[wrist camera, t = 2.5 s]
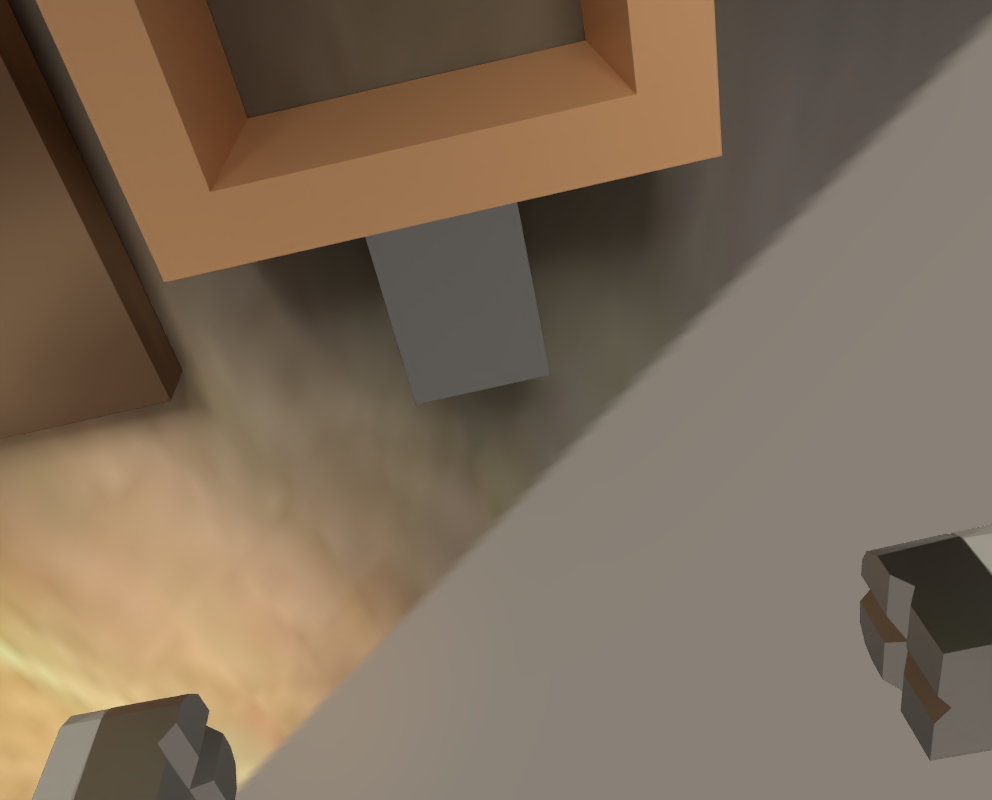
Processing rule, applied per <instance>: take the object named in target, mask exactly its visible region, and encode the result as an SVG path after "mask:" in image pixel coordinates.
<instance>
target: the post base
mask: <svg viewBox="0 0 992 800" xmlns="http://www.w3.org/2000/svg"><path fill="white" fill-rule="evenodd" d="M181 373H182V369H181V367H180V365H179V363H178V360H177V358H176V356H175V354H174V352H173V350H172V348H171V346H170V344H169V341H168V339H167V337H166V335H165V333H164V331H163V329H162V327H161V324H160V322H159V320H158V318H157V316H156V314H155V312H154V310H153V308H152V305H151V303H150V301H149V299H148V297H147V295H146V293H145V291H144V289H143V286H142V284H141V282H140V280H139V278H138V276H137V274H136V272H135V269H134V267H133V265H132V263H131V261H130V259H129V257H128V255H127V253H126V250H125V248H124V246H123V244H122V242H121V240H120V238H119V236H118V233H117V231H116V229H115V227H114V225H113V223H112V221H111V219H110V217H109V214H108V212H107V210H106V208H105V206H104V204H103V202H102V200H101V198H100V195H99V193H98V191H97V189H96V187H95V185H94V183H93V181H92V178H91V176H90V174H89V172H88V170H87V168H86V166H85V164H84V162H83V159H82V157H81V155H80V153H79V151H78V149H77V147H76V145H75V143H74V140H73V138H72V136H71V134H70V132H69V130H68V128H67V126H66V123H65V121H64V119H63V117H62V115H61V113H60V111H59V109H58V107H57V104H56V102H55V100H54V98H53V96H52V94H51V92H50V90H49V88H48V85H47V83H46V81H45V79H44V77H43V75H42V73H41V71H40V68H39V66H38V64H37V62H36V60H35V58H34V56H33V54H32V52H31V49H30V47H29V45H28V43H27V41H26V39H25V37H24V35H23V33H22V30H21V28H20V26H19V24H18V22H17V20H16V18H15V16H14V13H13V11H12V9H11V7H10V5H9V3H8V1H7V0H0V439H3V438H7V437H12V436H16V435H21V434H25V433H30V432H34V431H39V430H43V429H48V428H52V427H56V426H61V425H65V424H70V423H74V422H79V421H83V420H88V419H92V418H97V417H101V416H106V415H110V414H114V413H119V412H123V411H128V410H132V409H137V408H141V407H146V406H150V405H155V404H159V403H164V402H168V401H171V399H172V396H173V394H174V391H175V389H176V386H177V383H178V381H179V378H180V376H181Z"/></svg>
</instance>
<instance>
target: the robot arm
mask: <svg viewBox="0 0 992 800" xmlns="http://www.w3.org/2000/svg"><path fill="white" fill-rule="evenodd" d="M861 575H862V577H863V579H864V580H865V582H866V583H867V585H868V586H869V588H870V590H869V592H868V593H867V594H866V595H865V596H864V598H863V599H862V600H861V601H860V623H861V628H862V632H863V636H864V641H865V644H866V647H867V649H868V652H869V654H870V656H871V659H872V661H873V663H874V665H875V667H876V668H877V670H878V672H879V674H880V675H881V677H882V679H883V680H885V681H887V682H888V683H890V684H892V685H894V686H895V687H897V688H899V689H900V690H902V703H901V712H902V713H903V715H904V717H905V719H906V721H907V722H908V724H909V725H910V727H911V729H912V731H913V732H914V734H915V736H916V738H917V739H918V741H919V743H920V744H921V746H922V748H923V749H924V751H925V753H926V755H927V756H928V758H929V760H937V759H943V758H949V757H954V756H960V755H966V754H972V753H978V752H983V751H989V750H992V524H991V525H986V526H982V527H977V528H972V529H968V530H963V531H958V532H954V533H951V534H943V535H938V536H933V537H929V538H924V539H920V540H915V541H911V542H907V543H902V544H898V545H893V546H888V547H884V548H879V549H875V550H871V551H867V552H866V554H865V555H864V557H863V559H862V573H861ZM208 714H209V710H208V708H207V707H206V705H205V704H204V702H203V701H202V699H201V698H200V696H199V695H198V694H186V695H180V696H175V697H169V698H164V699H158V700H153V701H147V702H142V703H136V704H131V705H125V706H120V707H114V708H111V709H106V710H101V711H96V712H90V713H85V714H80V715H74V716H71V717H70V718H69V719H68V720H67V721H66V722H65V723H64V724H63V725H62V727H61V728H60V730H59V732H58V735H57V737H56V740H55V742H54V745H53V747H52V750H51V752H50V755H49V757H48V760H47V763H46V765H45V768H44V770H43V773H42V775H41V778H40V780H39V783H38V785H37V788H36V790H35V793H34V795H33V798H32V800H235V795H236V789H237V785H236V766H235V760H234V757H233V754H232V750H231V747H230V745H229V743H228V741H227V740H226V738H225V736H224V734H223V733H221V732H219V731H217V730H214V729H212V728H210V727H208V726H206V724H207V719H208Z"/></svg>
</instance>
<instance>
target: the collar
mask: <svg viewBox="0 0 992 800" xmlns="http://www.w3.org/2000/svg"><path fill="white" fill-rule="evenodd" d="M36 2H37V4H38V6H39V9H40V11H41V13H42V15H43V17H44V20H45V22H46V24H47V26H48V28H49V31H50V33H51V35H52V37H53V39H54V42H55V44H56V46H57V48H58V50H59V52H60V55H61V57H62V59H63V61H64V63H65V66H66V68H67V70H68V72H69V74H70V77H71V79H72V81H73V83H74V85H75V88H76V90H77V92H78V94H79V96H80V99H81V101H82V103H83V105H84V107H85V110H86V112H87V114H88V116H89V118H90V121H91V123H92V125H93V127H94V129H95V131H96V134H97V136H98V138H99V140H100V142H101V145H102V147H103V149H104V151H105V153H106V156H107V158H108V160H109V162H110V164H111V167H112V169H113V171H114V173H115V175H116V178H117V180H118V182H119V184H120V186H121V189H122V191H123V193H124V195H125V197H126V200H127V202H128V204H129V206H130V208H131V210H132V213H133V215H134V217H135V219H136V221H137V224H138V226H139V228H140V230H141V232H142V235H143V237H144V239H145V241H146V243H147V246H148V248H149V250H150V252H151V254H152V257H153V259H154V261H155V263H156V265H157V268H158V270H159V272H160V274H161V276H162V278H163V281H164V282H168V281H173V280H177V279H182V278H186V277H190V276H195V275H199V274H203V273H208V272H212V271H217V270H221V269H225V268H230V267H234V266H239V265H243V264H247V263H252V262H256V261H261V260H265V259H269V258H274V257H278V256H283V255H287V254H291V253H296V252H300V251H305V250H309V249H313V248H318V247H322V246H327V245H331V244H335V243H340V242H344V241H349V240H353V239H357V238H362V237H365V238H366V241H367V245H368V248H369V251H370V254H371V258H372V261H373V264H374V268H375V271H376V274H377V278H378V281H379V284H380V288H381V291H382V294H383V298H384V301H385V304H386V307H387V311H388V314H389V317H390V321H391V324H392V327H393V331H394V334H395V337H396V341H397V344H398V347H399V351H400V354H401V357H402V360H403V364H404V367H405V370H406V374H407V377H408V380H409V384H410V387H411V390H412V394H413V397H414V400H415V404H416V405H417V404H421V403H426V402H430V401H435V400H439V399H444V398H448V397H453V396H457V395H462V394H466V393H471V392H475V391H480V390H484V389H489V388H493V387H498V386H502V385H507V384H511V383H516V382H520V381H525V380H529V379H534V378H538V377H543V376H547V375H550V370H549V365H548V360H547V355H546V350H545V344H544V339H543V334H542V329H541V324H540V318H539V313H538V308H537V303H536V297H535V292H534V287H533V282H532V277H531V271H530V266H529V261H528V256H527V250H526V245H525V240H524V235H523V230H522V224H521V219H520V214H519V209H518V203H517V202H520V201H525V200H529V199H533V198H538V197H542V196H547V195H551V194H555V193H560V192H564V191H569V190H573V189H577V188H582V187H586V186H591V185H595V184H599V183H604V182H608V181H613V180H617V179H621V178H626V177H630V176H635V175H639V174H643V173H648V172H652V171H657V170H661V169H665V168H670V167H674V166H679V165H683V164H687V163H692V162H696V161H701V160H705V159H709V158H714V157H718V156H722V146H721V126H720V107H719V87H718V68H717V48H716V29H715V9H714V0H580V3H581V11H582V18H583V26H584V34H585V40H584V41H580V42H576V43H571V44H567V45H563V46H559V47H554V48H550V49H546V50H541V51H537V52H533V53H528V54H524V55H520V56H515V57H511V58H507V59H502V60H498V61H494V62H489V63H485V64H481V65H476V66H472V67H468V68H463V69H459V70H455V71H450V72H446V73H442V74H437V75H433V76H429V77H424V78H420V79H416V80H412V81H407V82H403V83H399V84H394V85H390V86H386V87H381V88H377V89H373V90H368V91H364V92H360V93H355V94H351V95H347V96H342V97H338V98H334V99H329V100H325V101H321V102H316V103H312V104H308V105H303V106H299V107H295V108H290V109H286V110H282V111H277V112H273V113H269V114H264V115H260V116H256V117H252V118H248V117H247V115H246V112H245V109H244V106H243V103H242V100H241V98H240V95H239V92H238V89H237V86H236V84H235V81H234V78H233V75H232V72H231V69H230V67H229V64H228V61H227V58H226V55H225V52H224V50H223V47H222V44H221V41H220V38H219V36H218V33H217V30H216V27H215V24H214V21H213V19H212V16H211V13H210V10H209V7H208V4H207V2H206V0H36Z"/></svg>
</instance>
